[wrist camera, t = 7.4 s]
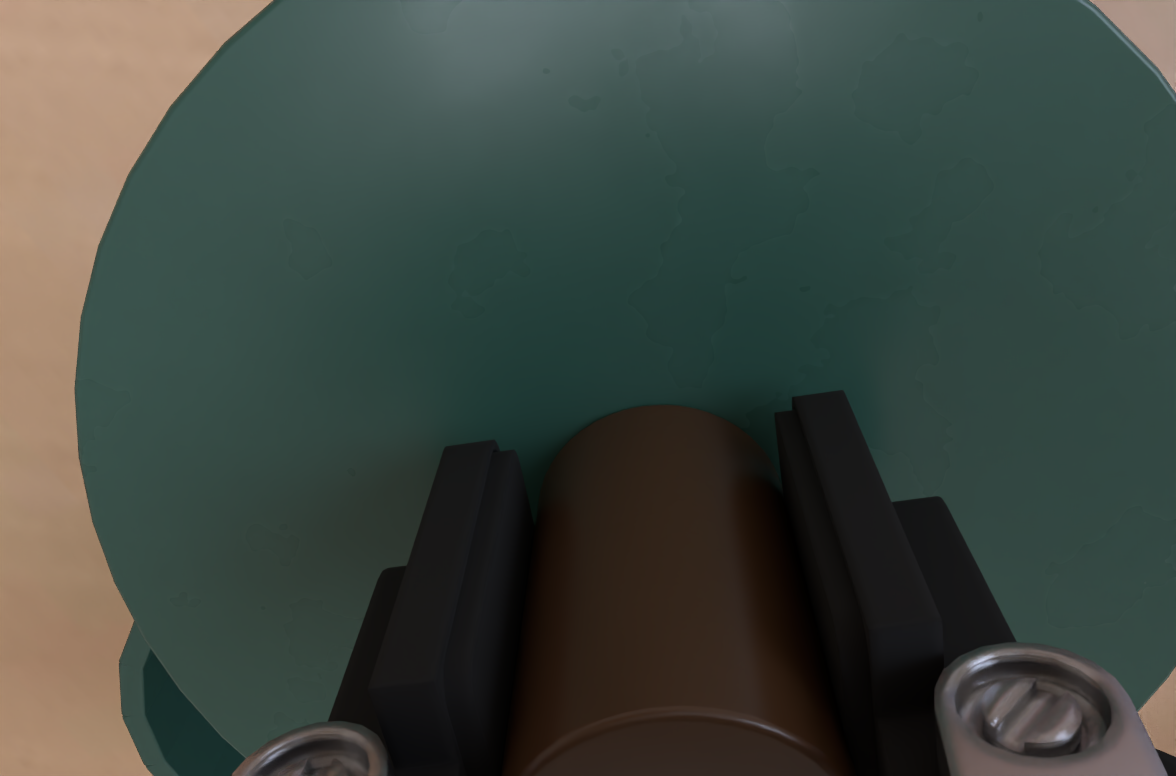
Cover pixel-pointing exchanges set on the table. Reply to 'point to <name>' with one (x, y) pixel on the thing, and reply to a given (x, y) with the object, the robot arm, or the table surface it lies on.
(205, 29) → the table surface
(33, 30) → the table surface
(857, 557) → the robot arm
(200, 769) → the tin
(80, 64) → the table surface
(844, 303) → the lid
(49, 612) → the table surface
